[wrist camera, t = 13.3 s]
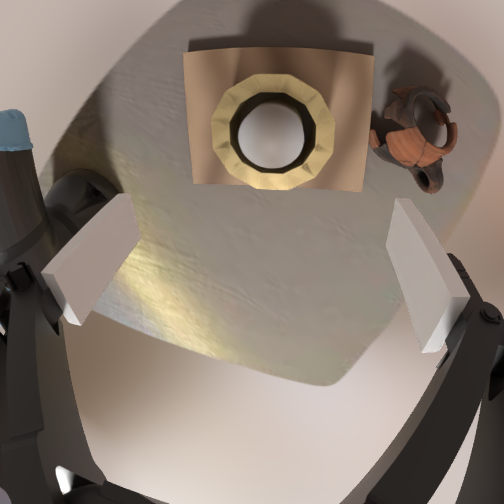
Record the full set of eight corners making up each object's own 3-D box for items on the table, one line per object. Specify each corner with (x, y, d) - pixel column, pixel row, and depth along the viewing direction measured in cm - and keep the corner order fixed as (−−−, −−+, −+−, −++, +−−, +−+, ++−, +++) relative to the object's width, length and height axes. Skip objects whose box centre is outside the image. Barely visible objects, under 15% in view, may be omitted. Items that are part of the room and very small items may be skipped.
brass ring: (229, 165, 31) (215, 187, 26) (225, 74, 25) (208, 76, 20) (323, 169, 29) (329, 192, 25) (328, 76, 24) (337, 78, 19)
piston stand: (197, 179, 36) (163, 223, 27) (187, 53, 26) (141, 51, 18) (359, 187, 33) (380, 235, 25) (370, 56, 24) (405, 52, 15)
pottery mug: (345, 113, 29) (383, 90, 21) (399, 91, 29) (439, 70, 21) (392, 206, 32) (438, 209, 23) (438, 174, 32) (483, 171, 24)
